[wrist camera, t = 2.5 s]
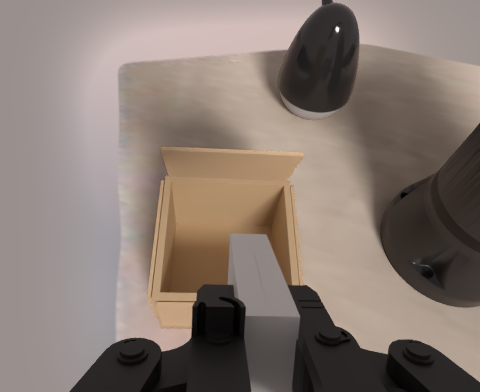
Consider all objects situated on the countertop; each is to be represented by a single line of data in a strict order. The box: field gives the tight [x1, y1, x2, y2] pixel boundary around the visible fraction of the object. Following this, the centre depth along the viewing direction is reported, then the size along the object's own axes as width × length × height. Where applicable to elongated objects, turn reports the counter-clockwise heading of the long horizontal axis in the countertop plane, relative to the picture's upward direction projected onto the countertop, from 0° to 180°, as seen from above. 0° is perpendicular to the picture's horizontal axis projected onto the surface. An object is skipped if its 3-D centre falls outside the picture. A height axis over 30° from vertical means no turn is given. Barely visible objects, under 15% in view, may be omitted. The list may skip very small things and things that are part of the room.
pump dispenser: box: [278, 0, 359, 120], centre depth 50 cm, size 10×10×15 cm
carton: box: [147, 176, 303, 328], centre depth 38 cm, size 13×12×9 cm
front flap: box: [160, 146, 304, 181], centre depth 34 cm, size 11×7×1 cm
